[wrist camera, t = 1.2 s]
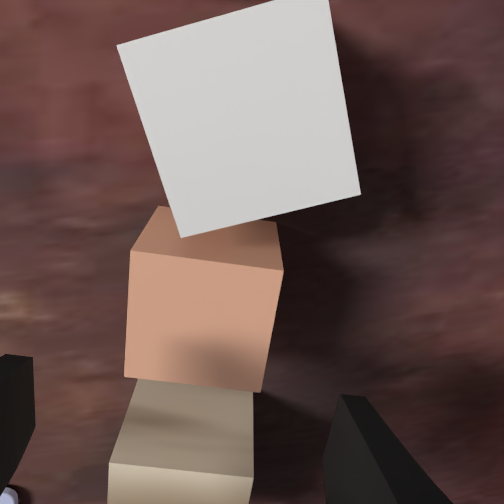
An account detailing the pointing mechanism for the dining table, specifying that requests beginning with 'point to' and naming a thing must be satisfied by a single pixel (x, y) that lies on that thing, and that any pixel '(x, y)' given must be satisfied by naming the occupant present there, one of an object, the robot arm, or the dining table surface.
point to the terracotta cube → (202, 303)
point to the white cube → (245, 114)
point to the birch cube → (183, 446)
